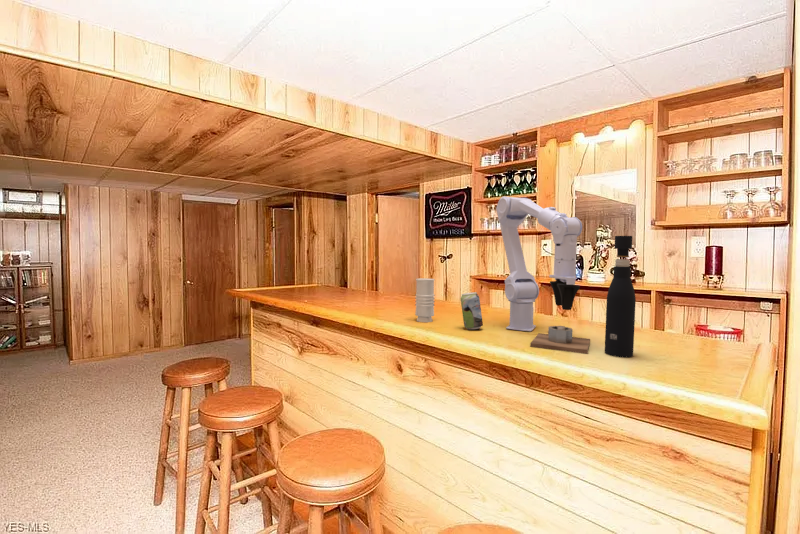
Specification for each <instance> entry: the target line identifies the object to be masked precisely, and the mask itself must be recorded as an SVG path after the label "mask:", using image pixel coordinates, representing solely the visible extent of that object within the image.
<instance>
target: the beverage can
mask: <svg viewBox="0 0 800 534" xmlns="http://www.w3.org/2000/svg"><path fill="white" fill-rule="evenodd" d="M460 305H461V311H462V312H461V314H462V318H463V327H464V328H466V330H478V329H481V328H482V327H483V326H484V325H483V324H484V323H483V317H482V316H483V315H482V308H481V300H480V296H479V294H478V292H476V291H474V292H472V291H471V292H464V293H461V296H460Z"/></svg>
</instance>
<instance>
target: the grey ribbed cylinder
mask: <svg viewBox="0 0 800 534" xmlns="http://www.w3.org/2000/svg"><path fill="white" fill-rule="evenodd" d="M415 281H416V286H415V287H416V290H415V292H416V294H415V297H414V298H415V305H414V306H415V316H416V317H417V318H416V322H418V323H419V322H420V323H431V322H433V321H434V320H433V318H432V317H433V316H435V310H434V309H435V304H434V303H435V295H436V294H435V293H434V292H435V281H436V280H435V278H426V277H425V278H424V277H423V278H422V277H421V278H420V277H419V278H415Z"/></svg>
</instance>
